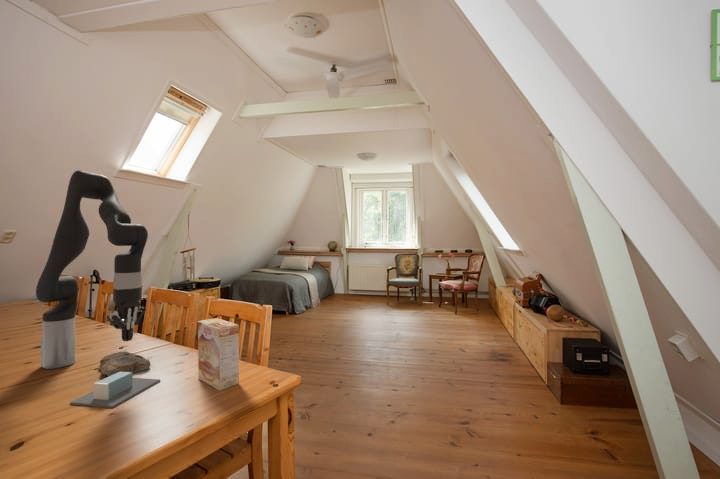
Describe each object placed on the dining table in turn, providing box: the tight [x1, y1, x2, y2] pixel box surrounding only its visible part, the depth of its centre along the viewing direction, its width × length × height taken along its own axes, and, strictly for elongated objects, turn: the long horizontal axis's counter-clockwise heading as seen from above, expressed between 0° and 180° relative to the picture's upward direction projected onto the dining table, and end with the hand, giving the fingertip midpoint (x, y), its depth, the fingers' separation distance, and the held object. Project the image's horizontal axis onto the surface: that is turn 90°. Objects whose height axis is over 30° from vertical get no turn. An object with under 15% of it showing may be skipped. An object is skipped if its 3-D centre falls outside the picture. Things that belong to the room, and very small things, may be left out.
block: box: [93, 372, 133, 400], centre depth 103 cm, size 4×4×9 cm
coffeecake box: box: [197, 317, 240, 392], centre depth 113 cm, size 15×7×20 cm, turn 49°
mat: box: [69, 377, 161, 409], centre depth 105 cm, size 14×18×1 cm
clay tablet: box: [98, 350, 152, 377], centre depth 126 cm, size 14×5×20 cm
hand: (127, 340), depth 109 cm, fingers closed
